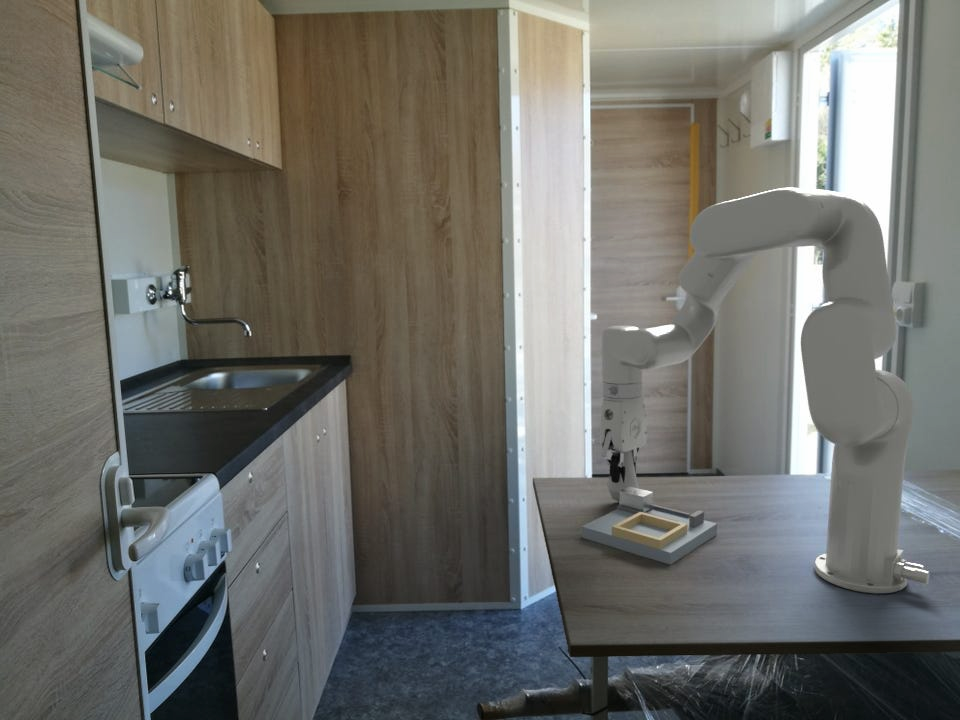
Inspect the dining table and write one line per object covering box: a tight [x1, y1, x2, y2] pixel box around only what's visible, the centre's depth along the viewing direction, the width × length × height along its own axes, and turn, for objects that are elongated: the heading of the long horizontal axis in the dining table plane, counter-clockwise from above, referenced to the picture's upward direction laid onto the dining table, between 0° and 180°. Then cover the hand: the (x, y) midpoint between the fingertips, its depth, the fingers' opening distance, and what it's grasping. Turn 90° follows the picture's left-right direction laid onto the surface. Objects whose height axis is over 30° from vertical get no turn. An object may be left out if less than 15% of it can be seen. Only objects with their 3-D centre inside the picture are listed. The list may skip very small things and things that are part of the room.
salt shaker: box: [607, 451, 639, 502], centre depth 145 cm, size 6×6×13 cm
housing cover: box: [618, 486, 654, 512], centre depth 137 cm, size 5×3×3 cm
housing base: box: [581, 503, 718, 565], centre depth 130 cm, size 17×16×4 cm
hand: (622, 482), depth 145 cm, fingers closed on salt shaker, 3 cm apart
